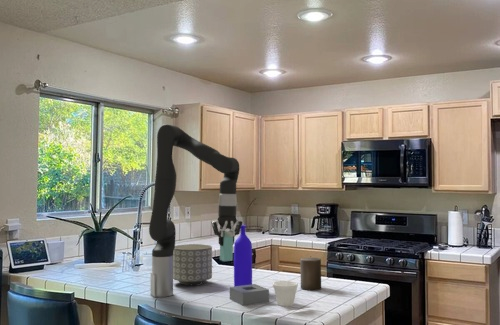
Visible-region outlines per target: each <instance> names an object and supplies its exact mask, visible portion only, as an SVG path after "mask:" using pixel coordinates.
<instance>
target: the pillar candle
mask: <svg viewBox="0 0 500 325" xmlns="http://www.w3.org/2000/svg"><path fill="white" fill-rule="evenodd" d="M299 265H300V267H299V269H300V289H301V290H305V291H318V290H319V291H320V290H322V259H321V258H318V257H312V256H310V257H301V258H300V263H299Z"/></svg>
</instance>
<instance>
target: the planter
mask: <svg viewBox="0 0 500 325" xmlns="http://www.w3.org/2000/svg"><path fill="white" fill-rule="evenodd" d="M212 277H213V246H212V245H211V244H202V243H189V244H187V243H185V244H178V245H175V248H174V251H173V281H177V282H179V283H180V284H183V285H185V286H190V287H191V286H193V287H194V286H199V285H202V284H204V283H206V282H207V281H209V280H210V279H212Z"/></svg>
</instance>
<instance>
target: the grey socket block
mask: <svg viewBox="0 0 500 325" xmlns="http://www.w3.org/2000/svg"><path fill="white" fill-rule="evenodd" d="M229 300H230V301H233V302H234V303H237V304H238V305H241V306H250V305H252V306H253V305H258V304H259V305H260V304H263V303H265V304H266V303H270V290H269V289H268V288H266V287H263V286H261V285H258V284H256V283H252V284H251V285H242V286H234V285H233V286H229Z"/></svg>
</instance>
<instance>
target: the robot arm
mask: <svg viewBox="0 0 500 325" xmlns="http://www.w3.org/2000/svg"><path fill="white" fill-rule="evenodd" d="M174 147H176V148H180V149H183V150H185V151H187V152H189V154H192V156H194V157H195V158H196V159H197V160H200V161H202V162H203V163H205V164H207V165H210V166H211V167H212V168H213V169H215V170H216V171H218V172H219V173H222V174H223V178H222V180H220V184H219V196H218V211H217V212H218V218H217V220H214V221H213V220H212V221H211V226H212V229H213V230H212V231H213V233H214V235H215V236H217V237H218V245H219V247H220V246H223V235H224V232H225V231H226V230H227V229H228V231H231V232H233V245H234V244H235V237H236V236H238V235H240V233H241V226H242V225H243V221H242V220H238V219H237V202H238V201H237V200H238V199H237V182H238V178H239V174H240V163H239V161H238V159H237V158H235V157H230V156H226V155H224V154H222V153H220V152H219V150H217V149H215V148H213V147H211V146H209V145H207V144H206V143H204V142H201V141H199V140H197V139H196V138H194V137H192V136H191V135H189V134H188V133H187V132H185V131H184V130H182V129H181V128H180V127H178V126H176V125H171V124H166V123H165V124H162V125H161V126H160V127H159V129H158V130H157V135H156V148H157V149H156V151H157V153H156V156H157V157H156V168H155V169H156V170H155V179H154V180H155V181H154V189H153V190H154V191H153V193H154V194H153V202H152V203H153V204H152V212H151V216H150V219H149V220H150V222H149V227H148V233H149V236H150V238H151V239H152V240H153V241H155V242H156V244H155V246H154V247H153V248H152V251H151V272H150V296H152V297H153V298H163V297H171V296H172V295H174V279H173V251H174V248H175V246H176V234H177V232H176V231H177V230H176V226H175V223H174V221H172V220H171V219H170V218H169V219H168V210H169V207H170V204H171V202H172V200H173V198H174V196H175V192H176V187H177V172H176V168H175V164H174V159H173V150H174ZM218 225H219V228H218Z"/></svg>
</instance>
